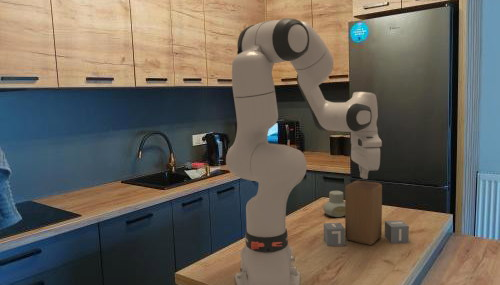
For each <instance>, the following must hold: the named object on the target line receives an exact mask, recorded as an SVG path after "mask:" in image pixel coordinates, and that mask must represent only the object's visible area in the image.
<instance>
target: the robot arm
mask: <svg viewBox="0 0 500 285" xmlns="http://www.w3.org/2000/svg"><path fill="white" fill-rule="evenodd" d="M236 52H237V55H236V56H234V58H233V60H232V64H231V86H232V94H233V95H232V96H233V100H234V108H235V109H234V110H235V114H236V115H235V116H236V134H235V139H234V142H233V144H232V145H231V146H230V147H229V149H228V150H227V153H226V155H225V156H226V157H225V164H226V167H227V169H228V171H229V172H230V173H231V174H233V175H235V176H236V177H238V178H241V179H242V180H247V181H253V182H257V183H258V189H257V193H256V195H254V196H252V197H251V198H250V199H249V200H248V201H247V203H246V206H245V216H246V217H245V218H246V220H245V221H246V222H245V223H246V229H245V232H244V233H245V234H244V240H245V241H244V242H245V245H244V246H243V247H242V249H240V271H239V272H237V273H236V274H234V281H235V284H236V285H301V272H300V271H298V267H297V266H296V265H295V266H293V264H294V263H293V262H295V261H296V260H295V259H296V258H295V257H296V256H293V247H292V246H290V245H289V240H288V239H289V234H288V230H287V226H286V222H287V221H286V220H287V218H286V216H287V214H286V213H287V202H288V198H289V195H290V194H291V192H292V190H293V189H294V187H296V186H297V185H299V184H300V183H301V182H302V180H303V179H304V178H305V176H306V173H307V166H308V163H307V159H306V156H305V154H304V153H303V152H302V151H301V150H300V149H297V148H295V147H292V146H289V145H287V144H279V143H270V142H269V141H268V136H269V131H270V129H271V128H273V127H274V126H275V125H276V123H277V122H278V120H279V112H278V111H279V110H278V104H277V102H278V101H277V97H276V96H277V95H276V89H275V82H274V77H273V68H274V65H275V64H278V63H283V62H290V64H291V65H292V67H293V68H294V70H295V72H296V74H297V75H296V84H297V86H298V88H299V91H300V92H301V95H302V97H303V99H304V100H305V103H306V105H307V107H308V108H309V111H310V113H311V116H312V121H313V123H314V125H315V127H316V128H317V129H318V130H320V131H322V132H345V133H346V132H347V133H350V144H351V146H350V148H351V149H350V159H351V161H353V163H355V164H357V165H358V169H359V177H360V178H362V179H363V180H368V179H369V172H370V171H378V170H379V168H380V165H381V148H380V147H382V146H383V141H382V140H381V138H380V137H379V136H380V135H379V134H378V133H379V132H378V131H379V130H378V125H377V122H378V119H379V116H378V115H379V114H378V113H379V112H378V108H379V107H378V101H377V96H376V94H375V93H373V92H371V91H363V90H362V91H361V90H360V91H359V90H357V91H354V92H353V93H352V96H351V98H350V99H348V100H347V101H345V102H344V101H343V102H335V101H334V102H332V101H329V100H326V98H325V97H324V95H323V93H322V90H321V88H320V85H321V84H323V83H324V82H325V81H326V80H327V79H328V78H329V77H330V75H331V74H332V72H333V69H334V66H335V65H334V61H335V60H334V58H333V56H332V53H331V52H330V50H329V48H328V47H327V45H326V43H325V42H324V40H323V39H322V37H321V36H320V34H319V33H318V32H317V30H316V29H314V27H312V25H311V24H309V23H308V22H307V21H304V20H298V19H296V18H290V17H289V18H288V17H287V18H282V19H274V20H265V21H262V22H258V23H257V24H251V25H249V26H246V27H245V28H244V29H243V30H242V31H241V32H240V34H239V36H238V40H237V51H236Z"/></svg>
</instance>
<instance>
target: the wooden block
mask: <svg viewBox="0 0 500 285" xmlns="http://www.w3.org/2000/svg"><path fill="white" fill-rule="evenodd" d="M344 187H345V189H344V190H345V191H344V192H345V194H344V199H345V201H344V202H345V216H344V222H345V223H344V224H345V225H344V228H345V240H347V241H352V242H356V243H359V244H364V245H368V246H371V245H372V246H373V244H375V243H376V242H377V241H378V240H379V239H380V238H381V237H382V233H383V232H382V229H383V228H382V226H383V225H382V224H383V222H382V218H383V217H382V216H383V215H382V214H383V213H382V212H383V185H382V183H380V182H376V181H375V182H373V181H367V180H366V181H365V180H359V179H358V180H355V181H352V182H350V183H348V184H346V185H345V186H344Z"/></svg>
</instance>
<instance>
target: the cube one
mask: <svg viewBox="0 0 500 285" xmlns="http://www.w3.org/2000/svg"><path fill="white" fill-rule="evenodd" d="M409 228H410V226H409V225H408V224H407V223H406V222H404V221H403V220H399V219H398V220H385V221H384V238H385V239H386V240H387V241H388V242H389V243H390V244H407V243H409V241H410V239H409V237H410V236H409V235H410V234H409V231H410V229H409Z"/></svg>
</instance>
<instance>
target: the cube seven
mask: <svg viewBox="0 0 500 285" xmlns="http://www.w3.org/2000/svg"><path fill="white" fill-rule="evenodd" d="M323 241H324V242H325V244H326V246H327V247H333V246H336V247H337V246H338V247H339V246H346V238H345V226H343V224H342V223H341V222H327V223H326V222H325V223H323Z"/></svg>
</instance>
